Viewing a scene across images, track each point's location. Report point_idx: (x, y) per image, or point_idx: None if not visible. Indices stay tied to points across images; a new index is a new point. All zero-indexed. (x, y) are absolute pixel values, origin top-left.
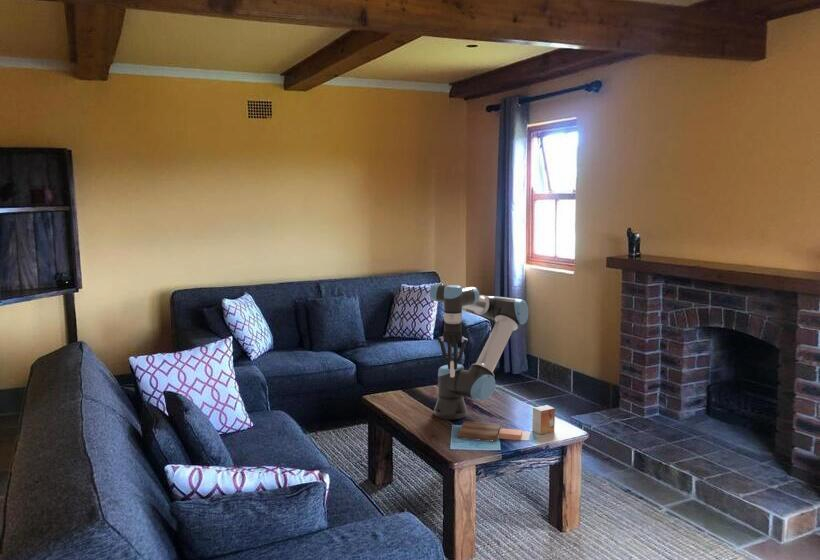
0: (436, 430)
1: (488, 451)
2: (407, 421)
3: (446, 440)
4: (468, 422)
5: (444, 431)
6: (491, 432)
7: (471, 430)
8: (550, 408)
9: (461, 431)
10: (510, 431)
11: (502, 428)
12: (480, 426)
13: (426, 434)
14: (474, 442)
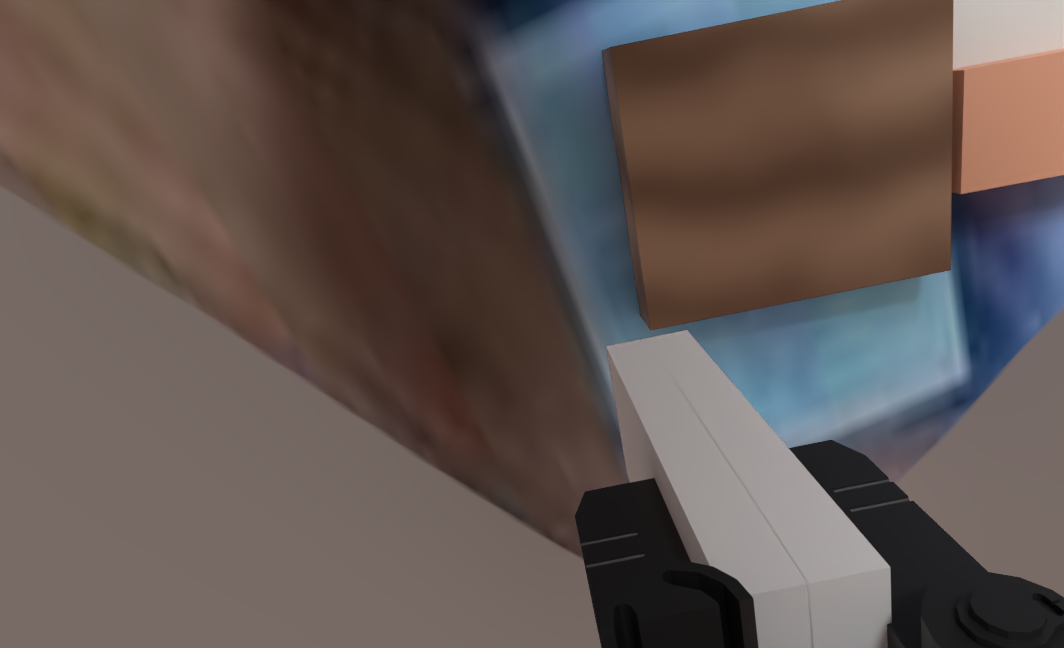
0: (425, 245)
1: (895, 435)
2: (91, 159)
3: (578, 391)
4: (659, 70)
5: (493, 237)
6: (903, 217)
7: (739, 248)
8: None
9: (669, 304)
10: (1049, 114)
11: (977, 72)
12: (788, 123)
13: (395, 354)
14: (774, 339)
